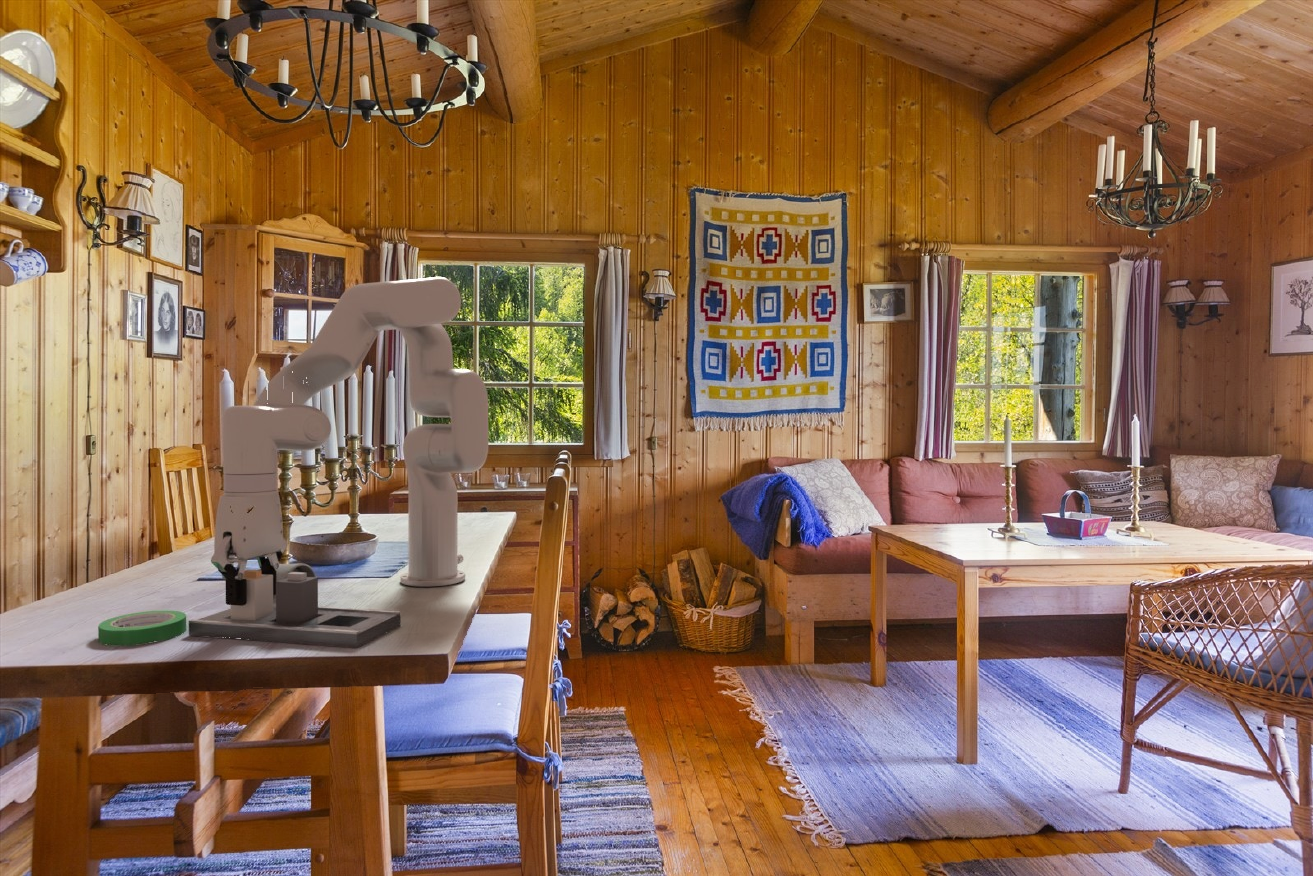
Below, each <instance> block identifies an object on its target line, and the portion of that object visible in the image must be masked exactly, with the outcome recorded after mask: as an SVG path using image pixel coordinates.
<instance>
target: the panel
mask: <svg viewBox="0 0 1313 876" xmlns="http://www.w3.org/2000/svg"><path fill="white" fill-rule="evenodd" d="M397 627H398V628H399V627H401V611H395V610H382V609H380V610H379V609H368V608H367V609H366V608H364V609H362V608H351V607H350V608H349V607H348V608H346V607H331V606H319V605H318V617H317V618H315V619H312V620H310V621H307V622H305V623H302V624H299V623H284V622H276V604H273V614H272V615H269V616H266V617H263V618H261V619H258V620H255V621H254V620H240V619H231V608H229V609H228V608H227V609H225V610H222V611H219V612H216V613H214V614H210V615H207V616H204V617H201V618H198V619H189V620H188V636H189V637H199V636H209V637H208V638H213V637H221V638H220V639H227V638H229V637H230V638H241V639H249V640H248V641H254V640H255V642H268V641H269V643H283V644H294V645H295V644H297V645H308V646H309V645H311V646H325V647H336V648H337V647H338V648H350V649H351V648H352V649H357V648H360V647H362V646H363V645H366V644H368V643H370V642H371V641H374V640H375V638H376V639H377V637H378V638H379V636H380V637H381V636H384V635H385V633H386V632H388V633H390V632H391V631H394V630H395V628H396V629H397ZM393 629H394V630H393ZM383 634H384V635H383ZM386 634H387V633H386ZM222 637H224V638H222ZM225 637H226V638H225Z"/></svg>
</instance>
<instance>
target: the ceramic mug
mask: <svg viewBox="0 0 1313 876" xmlns="http://www.w3.org/2000/svg"><path fill="white" fill-rule="evenodd" d="M259 569H260V568H259ZM260 570H261V569H260ZM291 572H302V573H307V577H317V575H316V573H315V572H314V569H313V568H312V567H311V566H310V565H309V564H306V563H300V562H299V563H279V568H278V569H277V570H276V580H277V581H280V580H283V579H286V578H288V573H291ZM273 604H276V595H273Z"/></svg>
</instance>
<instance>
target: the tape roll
mask: <svg viewBox="0 0 1313 876" xmlns="http://www.w3.org/2000/svg"><path fill="white" fill-rule="evenodd" d="M97 630H98V633H97V635H98V636H97V637H98V638H97V639H98V640H97V641H98V643H99V642H100V644H101V643H102V644H101V645H104V644H107V645H106V646H111V645H118V647H124V646H125V645H126V646H137V645H136V644H140V645H146V644H145V643H147V644H150V643H149V642H153V643H155V642H154V641H159V642H163V641H166V640H171V639H173V637H174V638H176V637H175V636H177V637H179V636H182V635H183V634H185V633H186V631H187V615H186V613H185V612H183V611H179V610H167V609H166V610H151V611H150V610H149V611H141V612H139V611H138V612H134V613H126V614H122V615H118V616H115V617H112V618H108V619H106V620H103V621H101V622H100V623H99V624H98V626H97ZM184 632H185V633H184ZM182 633H183V634H182ZM181 634H182V635H181ZM170 638H171V639H170ZM162 640H163V641H162ZM119 645H121V646H119Z"/></svg>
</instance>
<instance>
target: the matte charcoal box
mask: <svg viewBox="0 0 1313 876" xmlns="http://www.w3.org/2000/svg"><path fill="white" fill-rule="evenodd" d="M318 606H319V577H317V576H316V577H307V573H302V572H291V573H288V578H286V579H283V580H280V581H277V582H276V622H284V623H299V624H302V623H305V622H307V621H310V620H312V619H315V618H317V617H318Z"/></svg>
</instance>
